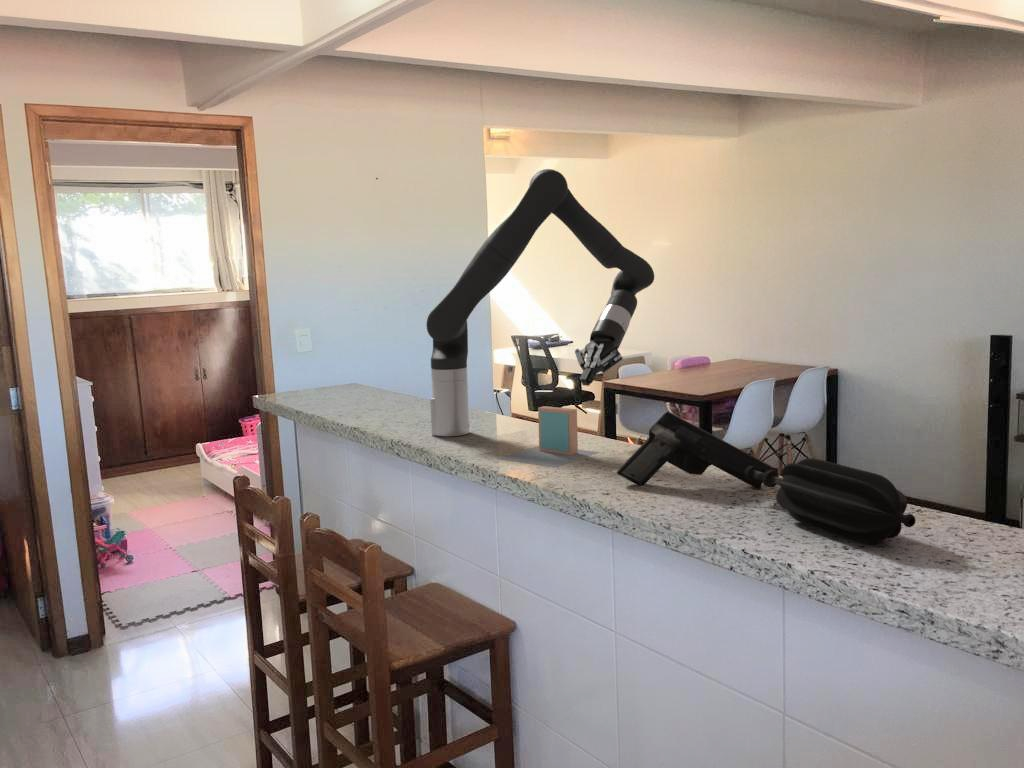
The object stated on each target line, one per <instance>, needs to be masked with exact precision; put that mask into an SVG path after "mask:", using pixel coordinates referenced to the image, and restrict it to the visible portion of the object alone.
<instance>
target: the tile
mask: <svg viewBox="0 0 1024 768" xmlns="http://www.w3.org/2000/svg"><path fill="white" fill-rule="evenodd" d="M537 410H538V411H537V413H538V414H537V415H538V417H537V419H538V446H539V451H544V452H552V453H559V454H567V455H574V454H577V453H578V450H579V447H578V441H579V440H578V438H579V437H578V409H577V408H569V407H555V406H547V405H546V406H545V405H543V406H540V407H538V408H537Z"/></svg>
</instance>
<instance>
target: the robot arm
mask: <svg viewBox="0 0 1024 768" xmlns="http://www.w3.org/2000/svg"><path fill="white" fill-rule="evenodd" d="M551 214H552V215H554V216H555V217H556V218H558V220H559V221H560V222H562V223H563V224H564V225H565V226H566V227H567V229H569V230H570V231H571V232H572V233H573V235H574V236H575V237H576V239H578V241H579V242H580V243H581V244H582V246H583V247H584V248H585V249H586V250H587V251H588V252H589V253H590V255H592V256H593V257H594V258H595V260H596V261H598V263H600V265H601V266H603V267H604V268H606V269H609V270H610V269H615V268H616V269H619V270H620V271H619V272H618V273H617V274H616V276H615V278H614V280H613V282H612V287H611V291H610V297H609V299H608V301H607V303H606V305H605V307H604V308H603V310H602V311H601V313H600V315H599V317H598V319H597V321H596V323H595V325H594V327H593V329H592V332H591V333H590V337H589V338H590V339H589V341H588V342H587V343H586V345H585V346H584V348H583V349H579V348H576V349H575V350H574V354H575V358H576V359H577V362H578V365H579V367H580V368H581V370H582V373H581V375H580V377H579V380H580V383H581V385H582V386H587V387H588V386H591V384H592V383H593V382H594V381H595V378H596V375H598V374H599V373H600V372H601V373H606V372H607V371H608V370H609V369H611V368H612V367H614V366H615V365H616V364H618V363H620V362H621V361H622V360H623V356H622V354H621V353H620V351H619V348H620V347H621V344H622V342H623V339H624V337H625V336H626V333H627V331H628V329H629V326H630V323H631V320H632V318H633V316H634V314H635V311H636V309H637V306H638V298H637V296H636V295H637V293H640V292H641V291H643V290H645V289H647V288H649V287H650V286H651V285H652V284H653V283H654V282H655V281H654V280H655V273H654V269H653V267H652V265H651V264H649V262H648V261H647V260H645V259H644V258H643V257H641V256H640V255H638V254H636V252H634V251H632V250H630V249H628V248H627V247H625V246H624V245H623V244H622V243H621V242H620V241H619V240H618V239H617V238H616V236H614V235H613V234H612V232H610V231H609V230H608V229H607V228H606V227H605V226H604V225H603V224H602V223H601V222H599V220H597V219H596V218H595V217H594V215H592V214H590V213H589V211H587V209H585V207H584V206H583V205H582V204H581V203H580V202H579V201H578V200H577V199H576V197H575V196H574V194H572V192H571V191H570V189H569V186H568V182H567V180H566V177H565V176H564V175H563V174H562V173H561V172H559V171H558V170H555V169H550V168H544V169H541V170H538V171H537V172H536V173H535V174H534V175H533V176H532V177H531V179H530V182H529V185H528V189H527V190H526V192H525V193H524V195H523V196H522V198H521V199H520V201H519V202H518V205H516V207H515V209H514V210H513V211H512V212H511V214H509V215H508V217H506V218H505V219H504V220H503V221H502V222H501V223H500V224H499V225H498V226H497V227H496V228H495V229H494V230H493V231H492V233H490V234H489V236H488V237H487V238H486V240H485V241H484V242H483V244H482V245H481V246H480V247H479V249H478V250H477V252H476V253H475V255H474V256H473V258H472V259H471V260H470V261H469V263H468V265H467V266H466V268H465V269H464V271H463V272H462V273H461V275H460V277H459V279H458V280H457V282H456V283H455V285H454V286H453V287H452V289H450V291H449V292H448V293H447V294H446V295H445V296H444V298H443V299H442V300H440V301H439V303H438V304H437V305H436V306H434V308H433V309H432V310H431V311H430V313H429V315H427V318H426V319H427V320H426V330H427V333H428V336H430V338H431V339H432V353H431V357H430V371H431V375H430V376H431V391H432V392H431V395H432V397H431V398H430V401H429V402H430V403H429V404H430V423H431V425H430V426H431V435H432V436H438V437H458V436H465V435H467V434H469V433H470V411H469V392H468V391H469V390H468V389H469V385H468V353H469V338H468V337H469V335H468V333H469V332H468V331H469V330H468V321H467V320H468V319H469V317H470V315H471V314H472V313H473V311H474V310H475V308H476V307H477V305H478V304H479V303H480V302H481V301H482V300H483V299H484V298H485V297H486V296H487V295H489V293H490V292H491V291H493V290H494V288H496V287H497V286H498V285H499V284H500V283H501V282H502V280H503V279H504V278H505V277H506V276H507V275H508V274H509V272H510V270H512V268H513V267H514V265H515V264H516V263H517V262H518V260H519V258H520V257H521V255H523V253H524V251H525V249H526V248H527V246H529V243H530V242H531V240H532V238H533V237H534V235H535V233H536V232H537V231H538V229H539V228H540V227H541V226H542V224H543V223H544V222H545V221H546V220H547V219H548V218H549V217H550V215H551Z"/></svg>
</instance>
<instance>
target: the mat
mask: <svg viewBox="0 0 1024 768" xmlns="http://www.w3.org/2000/svg"><path fill="white" fill-rule="evenodd" d="M598 453H600V452H599V451H593V450H585V449H578V453H577V454H574V455H567V454H559V453H552V452H544V451H539V445H537V446H534V447H530V448H527V449H523V450H520V451H517V452H513V453H510V454H507V455H504V456H501V457H497V458H496V459H497V460H502V461H509V462H516V463H522V464H530V465H536V466H542V467H550V468H558V467H560V466H564V465H566V464H569V463H572V462H575V461H577V460H581V459H584V458H586V457H589V456H592V455H595V454H598Z"/></svg>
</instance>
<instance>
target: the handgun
mask: <svg viewBox="0 0 1024 768" xmlns="http://www.w3.org/2000/svg"><path fill="white" fill-rule="evenodd" d="M667 463H669V465H672V466H674V467H676V468H678V469H680V470H681V471H683V472H685V473H687V474H688V475H697V476H702V475H703V473H705V471H706V470H707V469H708V468H709V467H710V466H713V467H715V468H717V469H719V470H721V471H723V472H724V473H727V474H729V475H730V476H732V477H734V478H736V479H738V480H740V481H742V482H743V483H745V484H746V485H749V486H750V487H752V488H754V489H756V490H760V489H761V487H762V485H764V484H763V482H762V481H763V480H760V479H756V480H749V479H746V478H745V475H744V471H745V469H746V468H747V467H748V466H753V467H756V468H757V469H758V470H759V472H762V473H765V472H766V471H767V470H772V465H770V464H768V463H767V462H764V461H762V460H760V459H759V458H756V457H755V456H753V455H751V454H749V453H747V452H745V451H744V450H742V449H739V448H738V447H736V446H734V445H733V444H731V443H728V442H727V441H725V440H723V439H721V438H719V437H718V436H716V435H713V434H711V432H708V431H706V430H705V429H702V428H701V427H698V426H697V425H695V424H693V423H692V422H689V421H687V420H685V419H683V418H682V417H680V416H677V415H676V414H674V413H673V412H670V411H668V410H667V411H666V412H665V413H662V414H661V416H660V417H659V418H658V419H657V420H656V421H655V422H654V424H653V425H652V426H651V427H650V428H649V430H648V439H646V440H645V441H644V443H643V444H641V445H640V446H639V447H638V448H637V449H636V450H635V452H634V453H632V455H631V456H630V457H629V458H628V459H627V460H626V461H625V462H624V463H623V464H622V465H621V466H620V468H619V469H617V472H616V474H617V475H619V476H621V477H622V478H624V479H626V480H628V481H630V482H631V483H633V484H635V485H637V486H638V487H640V486H643V487H644V486H645V485H646V484H647V482H649V481H650V480H651V478H653V476H654V475H655V474H657V473H658V471H659V470H660V469H661V468H662V467H664V465H665V464H667Z"/></svg>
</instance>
